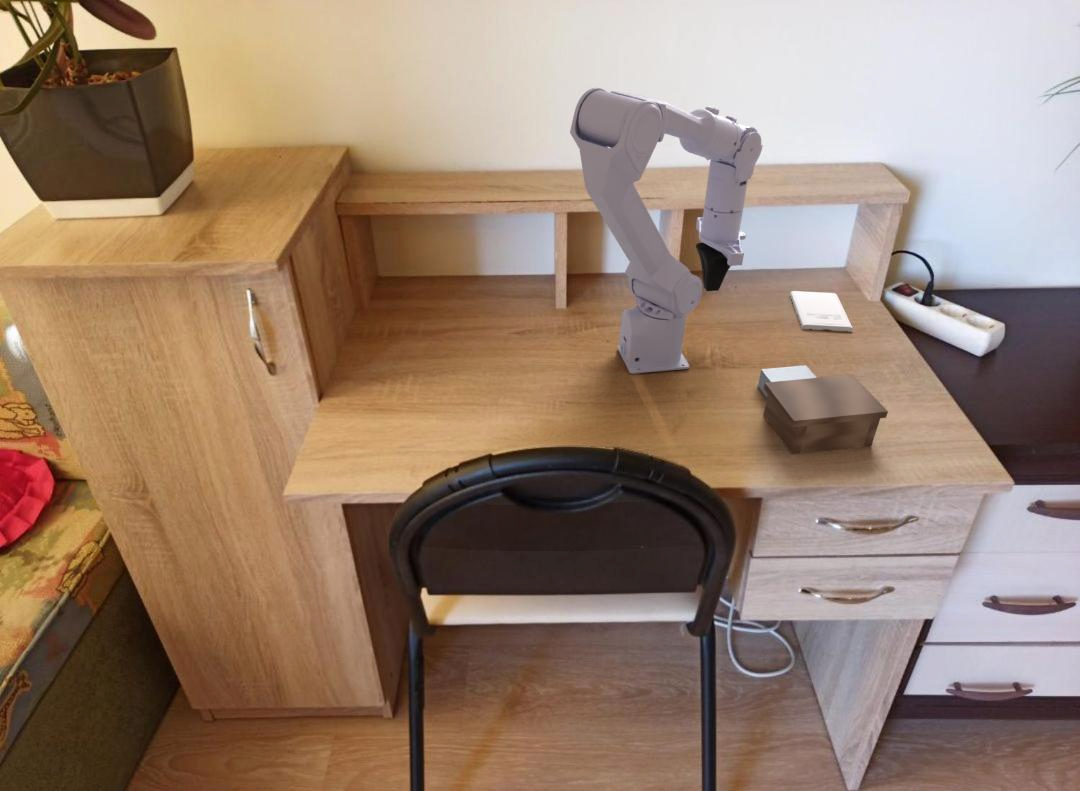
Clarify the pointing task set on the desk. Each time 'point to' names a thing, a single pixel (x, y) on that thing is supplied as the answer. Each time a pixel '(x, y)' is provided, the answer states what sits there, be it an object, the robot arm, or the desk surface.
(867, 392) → the brown lidded box
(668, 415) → the desk surface
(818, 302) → the external hard drive
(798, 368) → the brushed metal plate
